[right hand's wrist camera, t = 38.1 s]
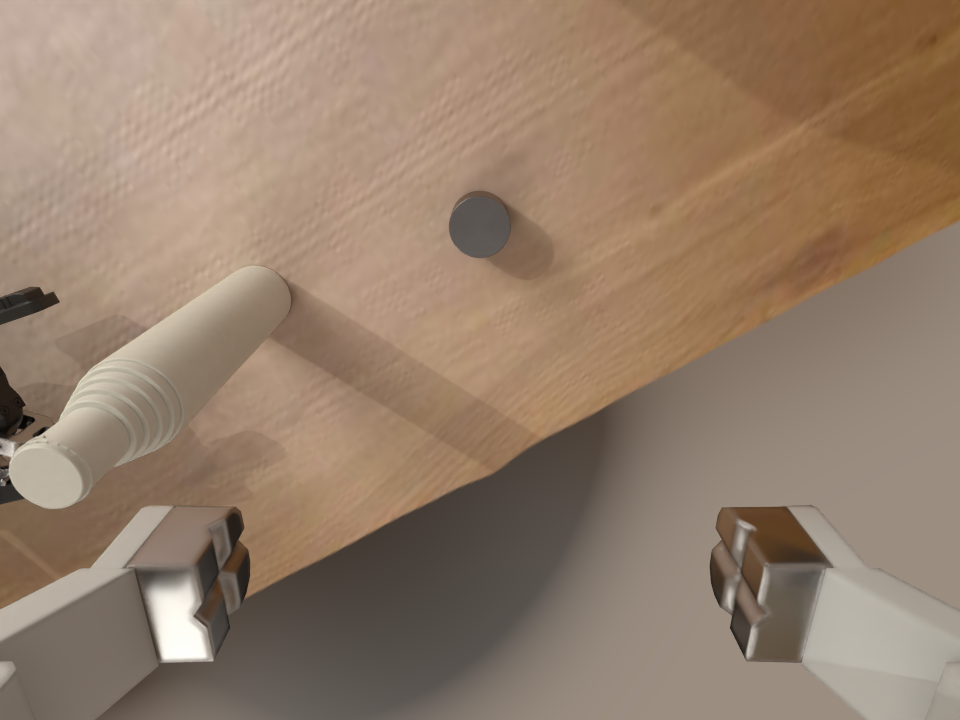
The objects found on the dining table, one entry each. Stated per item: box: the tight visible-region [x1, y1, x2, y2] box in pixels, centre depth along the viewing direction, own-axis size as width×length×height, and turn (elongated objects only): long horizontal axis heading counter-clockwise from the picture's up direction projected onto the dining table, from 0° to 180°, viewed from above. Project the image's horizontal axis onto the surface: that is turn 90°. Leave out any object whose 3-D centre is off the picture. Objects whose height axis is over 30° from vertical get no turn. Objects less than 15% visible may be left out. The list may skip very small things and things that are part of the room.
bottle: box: [9, 266, 291, 509], centre depth 33 cm, size 4×4×23 cm
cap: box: [449, 191, 510, 258], centre depth 40 cm, size 4×4×3 cm
